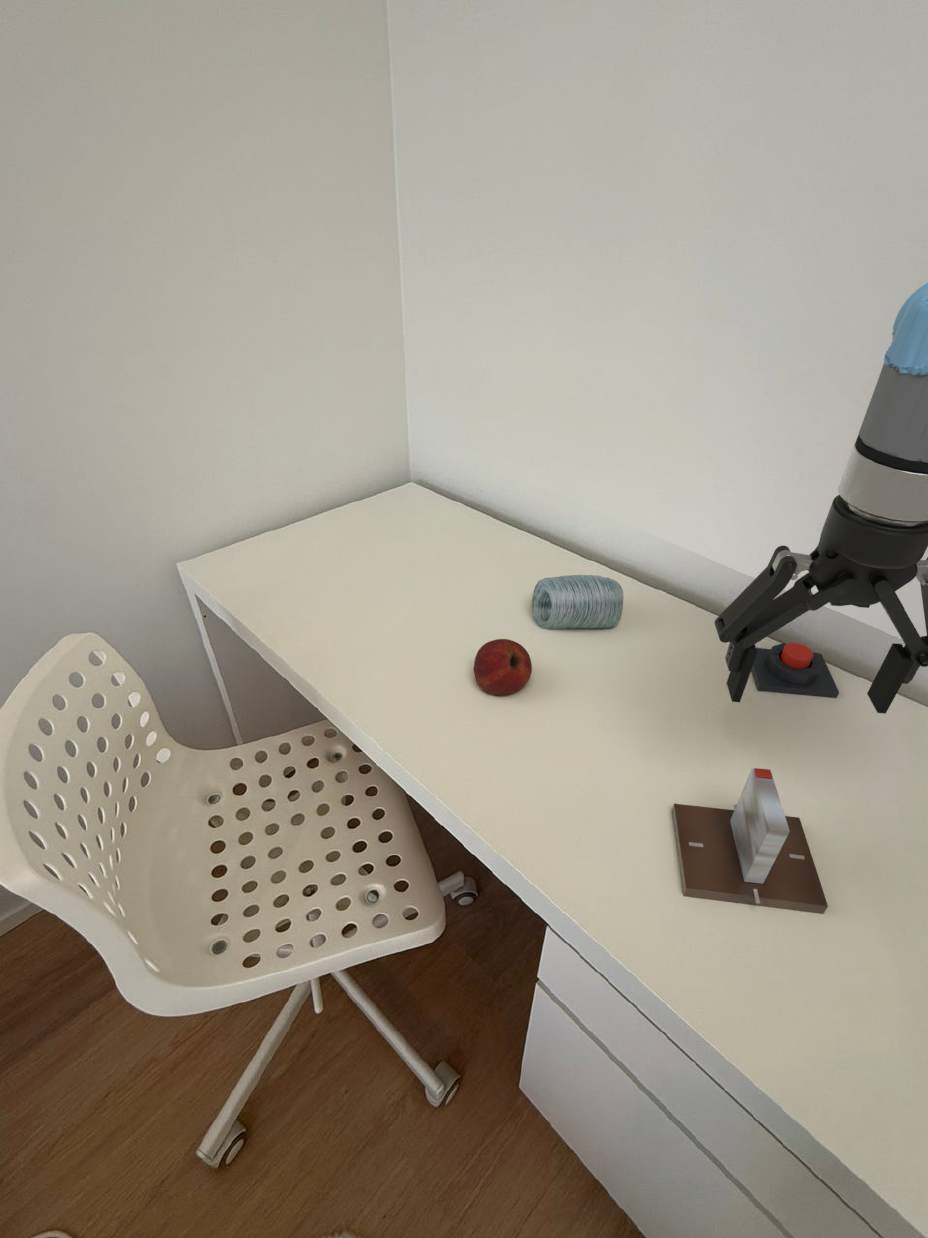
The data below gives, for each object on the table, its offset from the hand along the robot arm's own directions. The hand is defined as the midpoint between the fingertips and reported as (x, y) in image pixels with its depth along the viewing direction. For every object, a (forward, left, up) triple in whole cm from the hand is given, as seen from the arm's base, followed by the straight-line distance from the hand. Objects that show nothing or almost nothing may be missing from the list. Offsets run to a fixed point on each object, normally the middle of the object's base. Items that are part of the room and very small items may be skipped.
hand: (803, 698), depth 64 cm
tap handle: (+4, +9, -13) cm, 16 cm away
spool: (+21, -30, -16) cm, 40 cm away
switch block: (-8, -21, -16) cm, 27 cm away
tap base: (+4, +9, -16) cm, 19 cm away
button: (-8, -21, -12) cm, 25 cm away
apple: (+31, -14, -16) cm, 37 cm away
